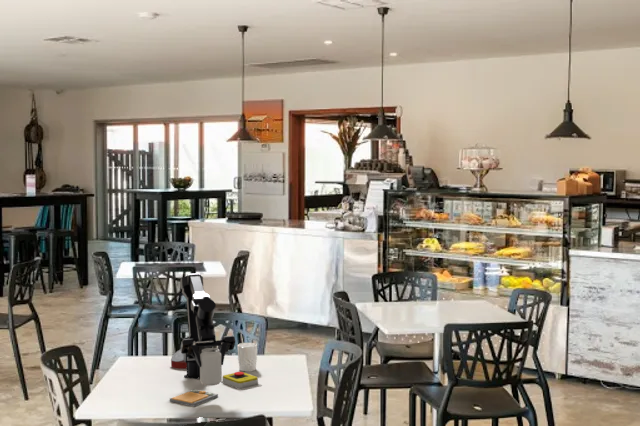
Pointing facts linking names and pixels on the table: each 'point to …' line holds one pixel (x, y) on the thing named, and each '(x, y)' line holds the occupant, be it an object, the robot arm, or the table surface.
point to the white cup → (247, 356)
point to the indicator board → (194, 397)
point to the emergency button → (241, 380)
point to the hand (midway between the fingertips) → (211, 365)
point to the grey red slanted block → (178, 360)
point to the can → (210, 367)
